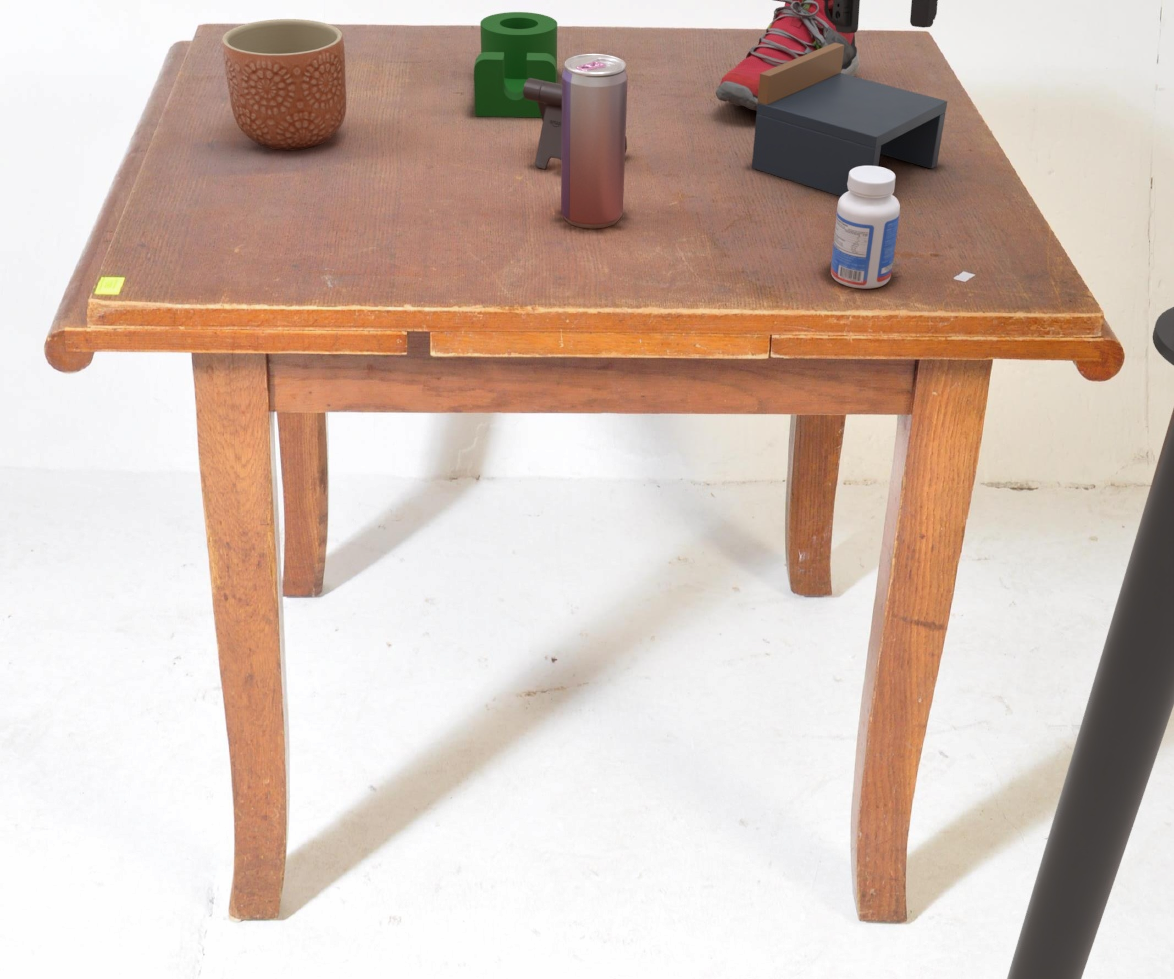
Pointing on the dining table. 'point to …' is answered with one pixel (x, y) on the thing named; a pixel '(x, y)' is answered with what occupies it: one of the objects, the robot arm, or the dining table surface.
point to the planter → (286, 81)
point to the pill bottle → (866, 229)
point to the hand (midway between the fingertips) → (884, 29)
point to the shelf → (838, 122)
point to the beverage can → (593, 140)
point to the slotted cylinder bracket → (513, 62)
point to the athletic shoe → (787, 48)
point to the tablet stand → (548, 118)
